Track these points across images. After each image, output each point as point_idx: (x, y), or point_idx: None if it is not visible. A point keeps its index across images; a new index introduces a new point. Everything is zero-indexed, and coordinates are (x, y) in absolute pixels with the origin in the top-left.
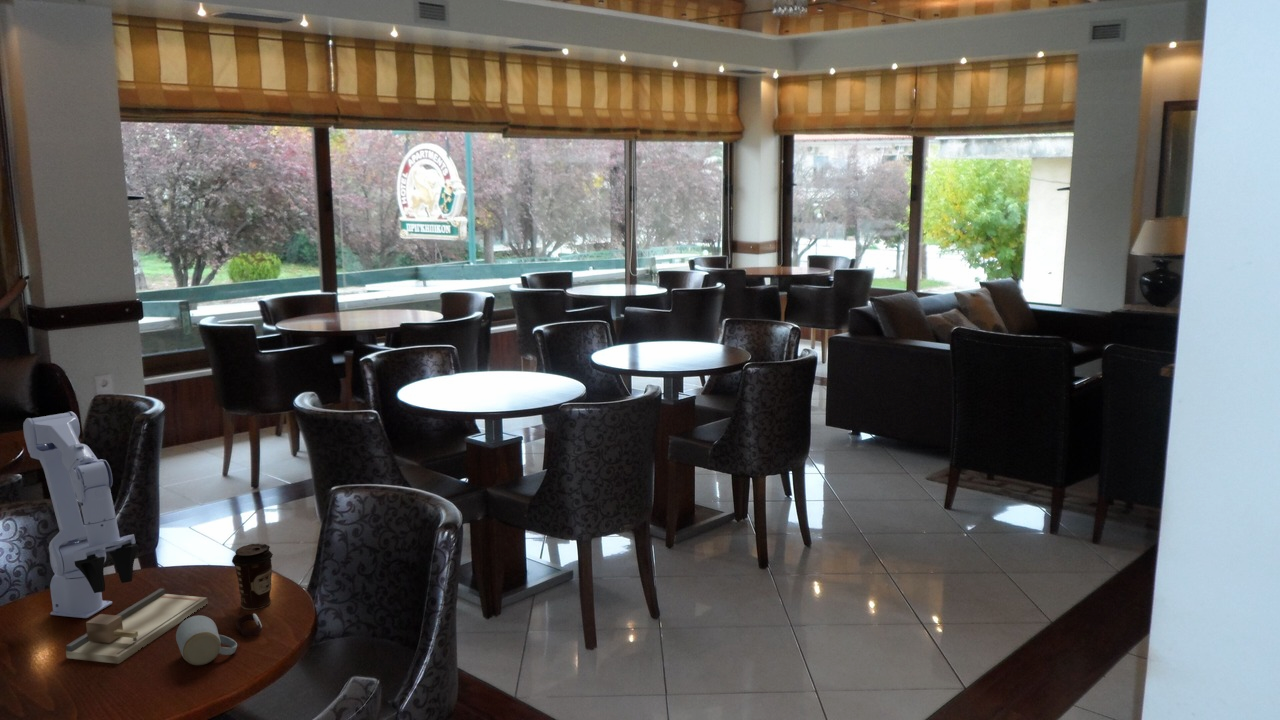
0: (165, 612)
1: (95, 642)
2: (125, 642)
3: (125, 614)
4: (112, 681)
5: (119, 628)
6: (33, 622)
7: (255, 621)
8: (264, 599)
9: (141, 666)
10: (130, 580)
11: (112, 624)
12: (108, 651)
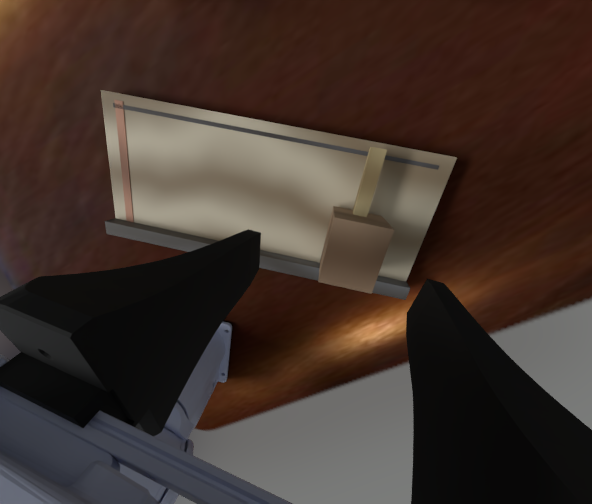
0: (202, 165)
1: None
2: None
3: None
4: (556, 120)
5: (345, 212)
6: (252, 390)
7: None
8: None
9: (478, 81)
10: (256, 232)
11: (371, 223)
12: (419, 199)
